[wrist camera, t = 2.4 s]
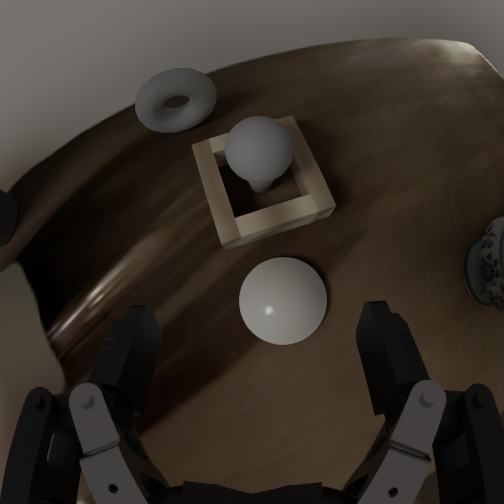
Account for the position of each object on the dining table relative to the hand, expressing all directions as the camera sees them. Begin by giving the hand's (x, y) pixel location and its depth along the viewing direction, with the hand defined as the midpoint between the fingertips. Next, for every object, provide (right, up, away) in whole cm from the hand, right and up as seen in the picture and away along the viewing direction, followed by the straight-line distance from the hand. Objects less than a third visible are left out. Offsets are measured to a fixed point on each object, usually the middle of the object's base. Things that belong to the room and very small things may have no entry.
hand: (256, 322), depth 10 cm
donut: (-9, +19, +24) cm, 32 cm away
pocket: (+1, +10, +22) cm, 24 cm away
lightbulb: (+1, +10, +22) cm, 24 cm away
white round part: (+3, -3, +19) cm, 19 cm away
